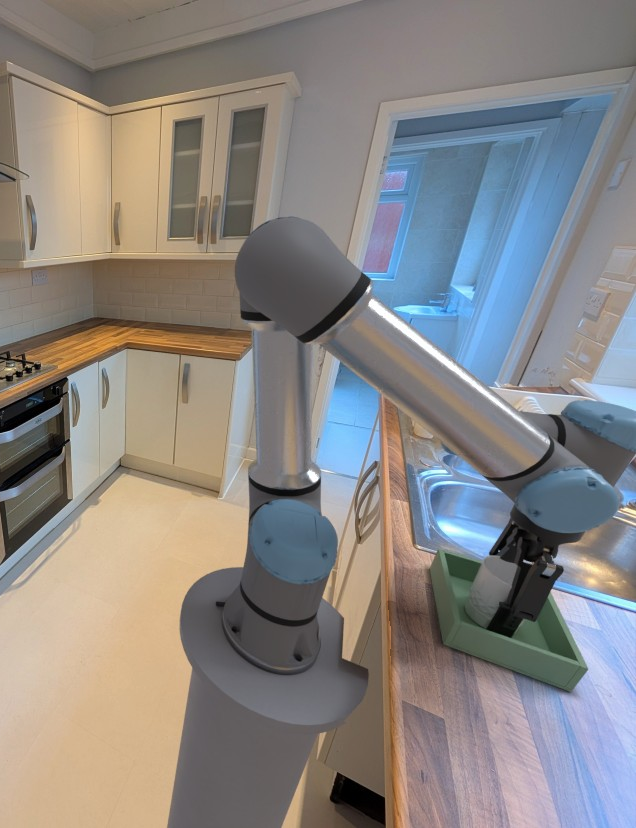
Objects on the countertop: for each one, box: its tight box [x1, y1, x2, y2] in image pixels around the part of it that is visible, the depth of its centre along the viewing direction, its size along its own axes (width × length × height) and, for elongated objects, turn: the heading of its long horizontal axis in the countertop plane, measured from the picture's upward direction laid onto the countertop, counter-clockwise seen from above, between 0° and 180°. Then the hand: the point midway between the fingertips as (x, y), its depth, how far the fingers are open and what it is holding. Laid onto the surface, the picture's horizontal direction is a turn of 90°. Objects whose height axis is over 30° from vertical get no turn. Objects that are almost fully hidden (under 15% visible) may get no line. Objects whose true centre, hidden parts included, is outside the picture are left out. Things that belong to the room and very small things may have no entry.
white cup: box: [464, 555, 527, 634], centre depth 69 cm, size 8×8×10 cm
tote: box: [428, 548, 589, 693], centre depth 70 cm, size 15×19×5 cm
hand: (490, 617), depth 71 cm, fingers closed on white cup, 8 cm apart
